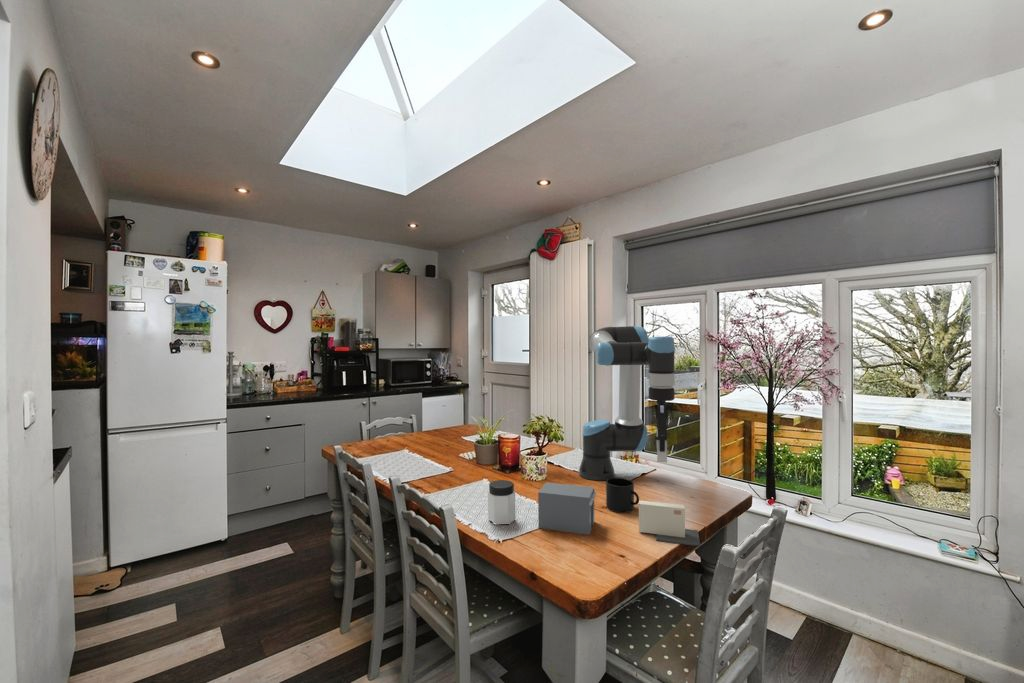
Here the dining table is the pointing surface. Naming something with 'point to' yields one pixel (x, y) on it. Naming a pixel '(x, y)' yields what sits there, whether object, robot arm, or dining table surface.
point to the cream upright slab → (662, 518)
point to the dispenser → (566, 508)
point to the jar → (501, 502)
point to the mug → (620, 495)
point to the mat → (689, 539)
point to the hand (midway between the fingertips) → (661, 455)
